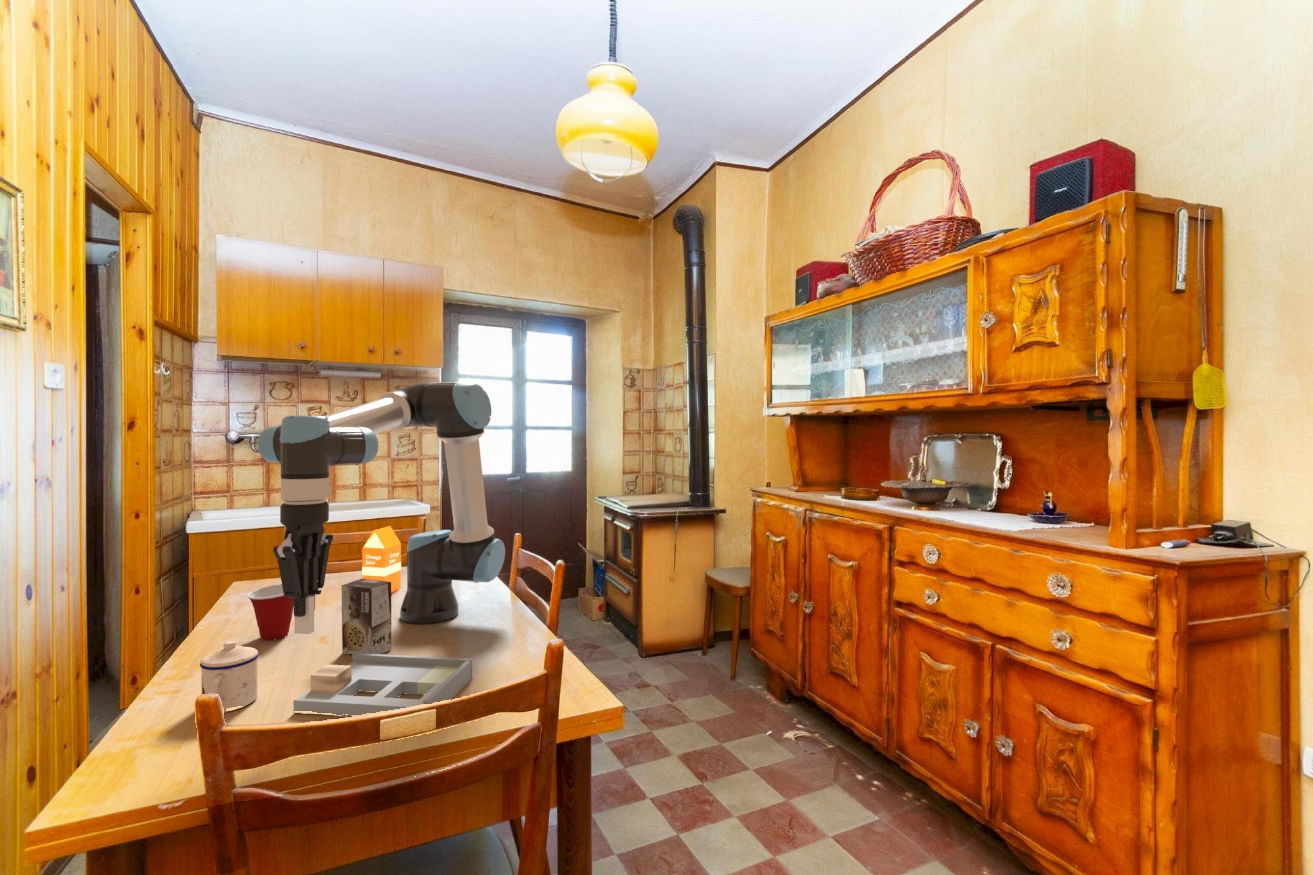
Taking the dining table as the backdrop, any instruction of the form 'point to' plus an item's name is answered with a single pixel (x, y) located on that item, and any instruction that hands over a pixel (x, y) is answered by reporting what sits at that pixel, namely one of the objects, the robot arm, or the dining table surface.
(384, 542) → the orange juice
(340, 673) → the block
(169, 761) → the dining table surface
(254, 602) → the plastic cup
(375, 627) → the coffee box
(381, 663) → the grey compartment tray
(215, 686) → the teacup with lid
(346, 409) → the robot arm
